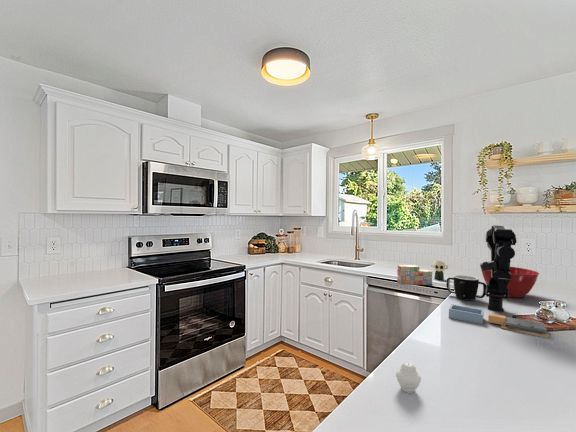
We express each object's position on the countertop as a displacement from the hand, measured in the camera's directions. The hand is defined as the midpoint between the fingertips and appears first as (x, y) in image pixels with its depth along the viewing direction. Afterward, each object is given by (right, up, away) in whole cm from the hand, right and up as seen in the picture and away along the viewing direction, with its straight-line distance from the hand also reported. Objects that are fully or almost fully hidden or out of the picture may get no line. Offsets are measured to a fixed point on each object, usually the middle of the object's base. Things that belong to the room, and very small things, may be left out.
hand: (501, 290), depth 135 cm
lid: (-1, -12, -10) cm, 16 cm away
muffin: (-65, -12, -57) cm, 87 cm away
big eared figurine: (+14, -13, +83) cm, 85 cm away
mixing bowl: (+35, -14, +44) cm, 58 cm away
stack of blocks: (-11, -12, +67) cm, 69 cm away
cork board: (+1, -13, -12) cm, 17 cm away
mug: (+3, -13, +33) cm, 36 cm away
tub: (-16, -12, 0) cm, 20 cm away
